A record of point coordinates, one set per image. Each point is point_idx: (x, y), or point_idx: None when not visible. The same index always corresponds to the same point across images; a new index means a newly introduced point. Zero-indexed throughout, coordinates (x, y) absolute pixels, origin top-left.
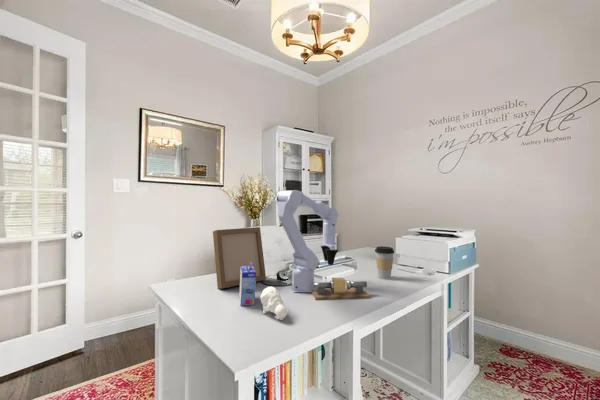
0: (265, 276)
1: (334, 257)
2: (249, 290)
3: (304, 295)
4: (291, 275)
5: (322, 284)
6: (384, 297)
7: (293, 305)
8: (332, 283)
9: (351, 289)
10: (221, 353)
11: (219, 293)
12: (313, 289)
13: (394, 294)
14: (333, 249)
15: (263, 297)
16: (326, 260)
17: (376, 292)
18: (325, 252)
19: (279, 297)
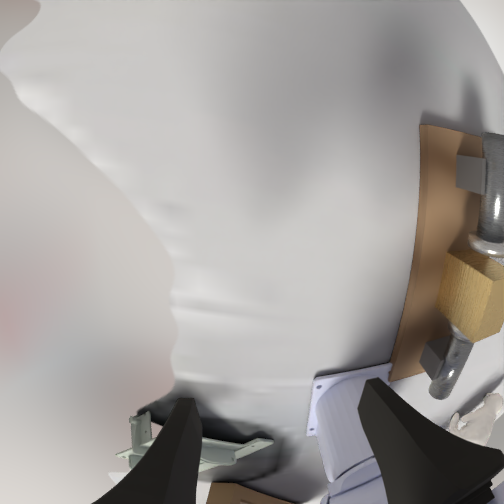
0: (234, 491)
1: (433, 424)
2: None
3: (406, 389)
4: (217, 454)
5: (463, 366)
6: (484, 77)
7: (451, 396)
8: None
9: (440, 198)
10: (500, 415)
11: (320, 500)
12: (377, 374)
13: (451, 13)
14: (502, 487)
15: None
16: (199, 420)
17: (441, 66)
18: (190, 501)
19: (490, 427)
